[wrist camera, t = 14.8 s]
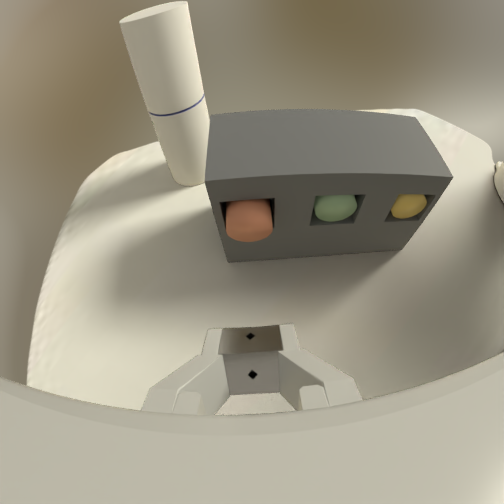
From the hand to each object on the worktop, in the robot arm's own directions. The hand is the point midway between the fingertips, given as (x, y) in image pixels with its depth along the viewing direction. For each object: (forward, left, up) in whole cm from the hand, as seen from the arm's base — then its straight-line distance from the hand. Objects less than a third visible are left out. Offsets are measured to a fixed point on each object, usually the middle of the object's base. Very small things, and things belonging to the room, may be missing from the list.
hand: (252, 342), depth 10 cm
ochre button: (-16, -14, -12) cm, 25 cm away
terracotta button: (0, -13, -12) cm, 18 cm away
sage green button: (-8, -14, -12) cm, 21 cm away
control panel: (-8, -18, -19) cm, 27 cm away
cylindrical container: (+8, -29, -20) cm, 36 cm away
